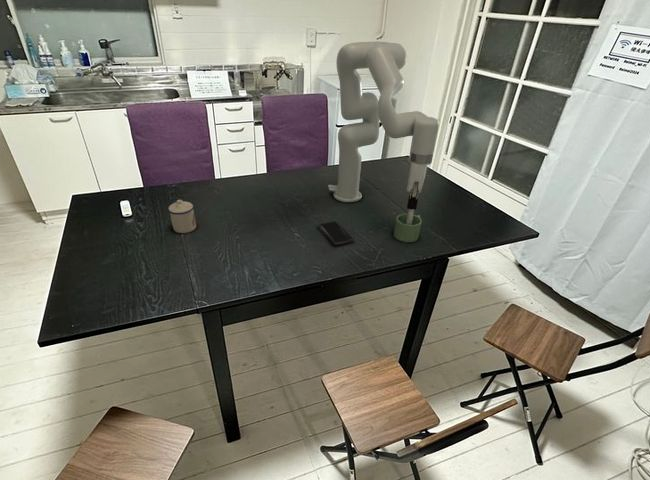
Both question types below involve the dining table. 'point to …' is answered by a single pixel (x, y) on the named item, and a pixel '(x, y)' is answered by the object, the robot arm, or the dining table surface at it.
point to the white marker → (410, 216)
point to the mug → (407, 228)
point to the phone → (335, 233)
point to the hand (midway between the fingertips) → (411, 206)
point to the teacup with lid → (182, 216)
